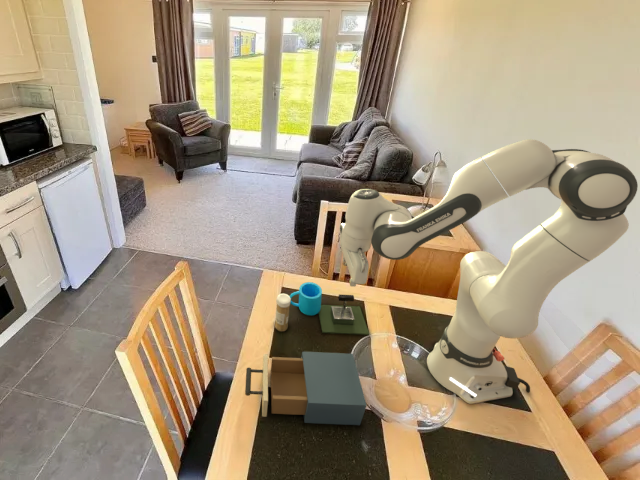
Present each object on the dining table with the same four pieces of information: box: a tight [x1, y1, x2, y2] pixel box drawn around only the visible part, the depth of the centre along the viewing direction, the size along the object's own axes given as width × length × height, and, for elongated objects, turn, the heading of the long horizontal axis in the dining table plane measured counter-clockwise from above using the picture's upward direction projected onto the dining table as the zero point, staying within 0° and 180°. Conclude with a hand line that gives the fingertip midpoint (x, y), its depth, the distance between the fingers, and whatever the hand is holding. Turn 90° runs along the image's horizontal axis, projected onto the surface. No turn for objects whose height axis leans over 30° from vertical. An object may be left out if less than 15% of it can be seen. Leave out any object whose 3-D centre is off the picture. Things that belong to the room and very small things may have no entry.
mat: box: [317, 304, 370, 336], centre depth 113 cm, size 16×12×1 cm
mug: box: [289, 281, 323, 316], centre depth 115 cm, size 12×8×8 cm
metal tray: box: [331, 294, 355, 325], centre depth 110 cm, size 7×5×11 cm
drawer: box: [244, 353, 308, 418], centre depth 87 cm, size 18×13×7 cm
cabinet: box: [300, 351, 368, 426], centre depth 87 cm, size 15×14×9 cm
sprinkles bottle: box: [274, 293, 292, 332], centre depth 106 cm, size 5×5×14 cm
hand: (348, 274), depth 101 cm, fingers open, 8 cm apart
